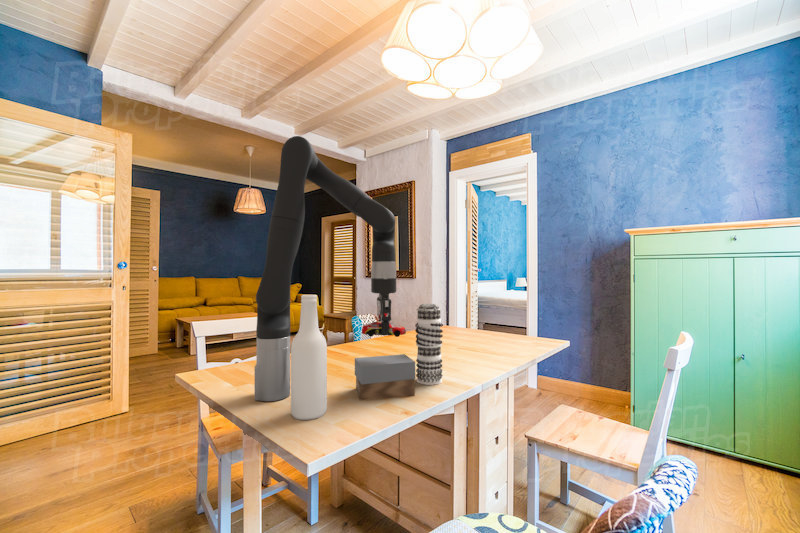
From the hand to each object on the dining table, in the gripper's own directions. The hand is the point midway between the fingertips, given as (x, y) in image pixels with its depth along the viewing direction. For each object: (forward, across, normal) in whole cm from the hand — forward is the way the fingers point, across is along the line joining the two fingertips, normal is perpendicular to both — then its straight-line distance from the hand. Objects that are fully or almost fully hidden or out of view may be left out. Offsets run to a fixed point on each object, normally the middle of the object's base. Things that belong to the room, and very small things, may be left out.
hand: (383, 332), depth 105 cm
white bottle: (+18, +13, -21) cm, 30 cm away
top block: (+13, 0, 0) cm, 13 cm away
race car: (+1, 0, 0) cm, 1 cm away
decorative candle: (+18, -8, +16) cm, 25 cm away
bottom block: (+18, 0, 0) cm, 18 cm away
